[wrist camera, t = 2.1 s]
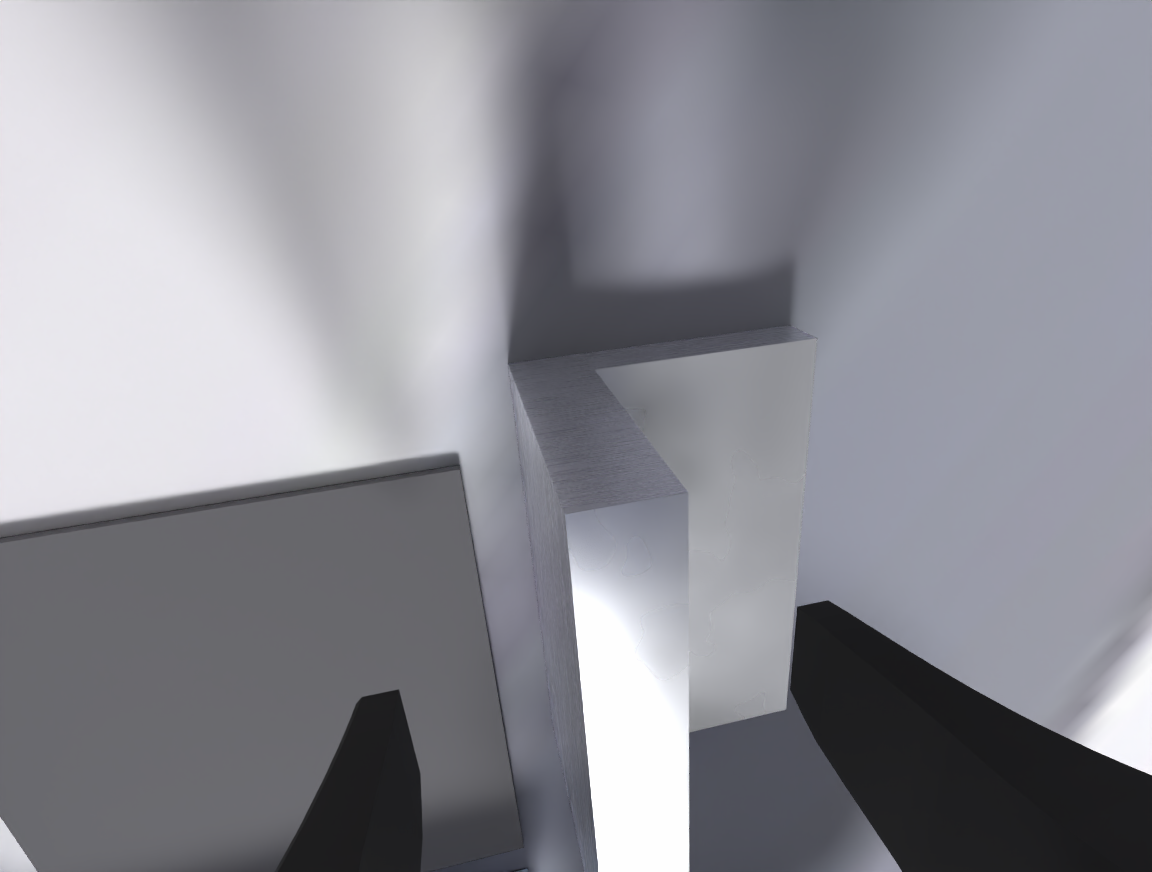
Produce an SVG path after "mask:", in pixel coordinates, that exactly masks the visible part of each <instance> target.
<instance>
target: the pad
mask: <svg viewBox="0 0 1152 872" xmlns="http://www.w3.org/2000/svg"><path fill="white" fill-rule="evenodd" d="M398 689H399V691H400V695H401V699H402V703H403V707H404V711H405V715H406V719H407V723H408V726H409V730H410V734H411V738H412V742H413V746H414V750H415V754H416V758H417V762H418V766H419V770H420V773H421V799H422V832H423V841H422V857H421V872H430V871H434V870H438V869H442V868H446V867H450V866H454V865H458V864H462V863H466V862H470V861H473V860H477V859H481V858H485V857H489V856H493V855H497V854H501V853H505V852H509V851H513V850H517V849H520V848H524V846H523V839H522V833H521V827H520V821H519V815H518V809H517V803H516V797H515V791H514V786H513V780H512V774H511V768H510V762H509V756H508V750H507V744H506V738H505V732H504V726H503V720H502V715H501V709H500V703H499V697H498V691H497V685H496V679H495V673H494V667H493V661H492V655H491V649H490V644H489V638H488V632H487V626H486V620H485V614H484V608H483V602H482V596H481V590H480V584H479V578H478V573H477V567H476V561H475V555H474V549H473V543H472V537H471V531H470V525H469V519H468V513H467V507H466V502H465V496H464V490H463V484H462V478H461V472H460V466H459V465H458V466H452V467H445V468H439V469H433V470H427V471H420V472H414V473H408V474H401V475H395V476H389V477H383V478H376V479H370V480H364V481H357V482H351V483H345V484H339V485H332V486H326V487H320V488H313V489H307V490H301V491H295V492H288V493H282V494H276V495H269V496H263V497H257V498H251V499H244V500H238V501H232V502H225V503H219V504H213V505H207V506H200V507H194V508H188V509H181V510H175V511H169V512H163V513H156V514H150V515H144V516H137V517H131V518H125V519H119V520H112V521H106V522H100V523H93V524H87V525H81V526H74V527H68V528H62V529H56V530H49V531H43V532H37V533H30V534H24V535H18V536H12V537H5V538H0V817H1V818H2V820H3V821H4V823H5V824H6V826H7V827H8V829H9V830H10V832H11V833H12V835H13V836H14V837H15V839H16V840H17V842H18V843H19V845H20V846H21V848H22V849H23V851H24V852H25V854H26V855H27V857H28V858H29V860H30V861H31V863H32V864H33V866H34V867H35V868H36V870H37V871H38V872H275V870H276V869H277V867H278V865H279V863H280V861H281V860H282V858H283V856H284V854H285V852H286V851H287V849H288V847H289V845H290V843H291V842H292V840H293V838H294V836H295V834H296V833H297V831H298V829H299V827H300V825H301V823H302V821H303V819H304V817H305V815H306V813H307V811H308V809H309V807H310V805H311V803H312V801H313V799H314V797H315V795H316V793H317V791H318V789H319V787H320V785H321V783H322V781H323V779H324V777H325V775H326V773H327V771H328V768H329V766H330V764H331V762H332V760H333V758H334V755H335V753H336V751H337V749H338V746H339V744H340V742H341V740H342V737H343V735H344V733H345V730H346V728H347V725H348V723H349V721H350V718H351V716H352V713H353V710H354V708H355V705H356V703H357V702H358V701H359V700H360V698H361V697H364V696H369V695H374V694H379V693H383V692H388V691H393V690H398Z"/></svg>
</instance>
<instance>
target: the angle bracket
mask: <svg viewBox="0 0 1152 872" xmlns="http://www.w3.org/2000/svg"><path fill="white" fill-rule="evenodd" d="M816 347H817V338H815V337H813V336H811V335H809V334H807V333H805V332H803V331H801V330H799V329H797V328H795V327H793V326H791V325H788V326H780V327H773V328H766V329H758V330H751V331H744V332H736V333H729V334H721V335H714V336H707V337H699V338H692V339H685V340H677V341H670V342H663V343H655V344H648V345H641V346H633V347H626V348H619V349H611V350H604V351H597V352H589V353H582V354H575V355H567V356H560V357H552V358H545V359H538V360H530V361H523V362H516V363H508V370H509V378H510V386H511V394H512V402H513V410H514V418H515V426H516V434H517V442H518V450H519V458H520V466H521V474H522V482H523V490H524V498H525V506H526V514H527V522H528V530H529V538H530V546H531V554H532V562H533V570H534V578H535V587H536V595H537V603H538V611H539V619H540V627H541V635H542V643H543V651H544V659H545V667H546V675H547V683H548V691H549V699H550V707H551V715H552V723H553V730H554V734H555V739H556V744H557V748H558V753H559V757H560V762H561V766H562V771H563V776H564V780H565V785H566V789H567V794H568V798H569V803H570V808H571V812H572V817H573V821H574V826H575V830H576V835H577V839H578V844H579V849H580V853H581V858H582V862H583V867H584V871H585V872H689V733H690V732H694V731H698V730H702V729H706V728H711V727H715V726H719V725H723V724H727V723H732V722H736V721H740V720H744V719H748V718H753V717H757V716H761V715H765V714H769V713H774V712H778V711H782V710H786V704H787V692H788V680H789V668H790V656H791V644H792V632H793V620H794V609H795V597H796V585H797V573H798V561H799V549H800V537H801V525H802V513H803V502H804V490H805V478H806V466H807V454H808V442H809V430H810V418H811V406H812V394H813V383H814V371H815V359H816Z"/></svg>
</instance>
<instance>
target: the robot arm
mask: <svg viewBox="0 0 1152 872" xmlns="http://www.w3.org/2000/svg"><path fill="white" fill-rule="evenodd" d="M790 690H791V692H792V694H793V696H794V698H795V700H796V702H797V704H798V706H799V709H800V711H801V713H802V715H803V717H804V719H805V721H806V723H807V724H808V726H809V728H810V730H811V732H812V734H813V736H814V738H815V740H816V742H817V743H818V745H819V746H820V748H821V749H822V751H823V753H824V754H825V756H826V757H827V759H828V760H829V762H830V763H831V765H832V766H833V768H834V769H835V771H836V772H837V774H838V775H839V777H840V779H841V780H842V782H843V783H844V785H845V786H846V788H847V789H848V791H849V792H850V794H851V795H852V797H853V798H854V800H855V801H856V803H857V804H858V806H859V807H860V809H861V810H862V811H863V813H864V814H865V816H866V817H867V819H868V820H869V822H870V823H871V825H872V826H873V828H874V829H875V831H876V832H877V834H878V835H879V837H880V838H881V840H882V841H883V843H884V844H885V846H886V847H887V849H888V850H889V852H890V853H891V855H892V856H893V858H894V859H895V861H896V862H897V864H898V866H899V867H900V869H901V870H902V872H1152V775H1149V774H1147V773H1145V772H1142V771H1140V770H1137V769H1135V768H1132V767H1130V766H1128V765H1125V764H1123V763H1120V762H1118V761H1116V760H1114V759H1111V758H1109V757H1107V756H1105V755H1102V754H1100V753H1098V752H1096V751H1093V750H1091V749H1089V748H1087V747H1085V746H1083V745H1081V744H1079V743H1076V742H1074V741H1072V740H1070V739H1068V738H1066V737H1064V736H1062V735H1060V734H1058V733H1056V732H1053V731H1051V730H1049V729H1047V728H1045V727H1043V726H1041V725H1039V724H1037V723H1035V722H1033V721H1031V720H1029V719H1027V718H1025V717H1023V716H1021V715H1019V714H1018V713H1016V712H1014V711H1012V710H1010V709H1008V708H1006V707H1005V706H1003V705H1001V704H999V703H997V702H995V701H994V700H992V699H990V698H988V697H986V696H985V695H983V694H981V693H979V692H977V691H975V690H974V689H972V688H970V687H968V686H967V685H965V684H963V683H961V682H960V681H958V680H956V679H955V678H953V677H951V676H949V675H948V674H946V673H944V672H943V671H941V670H939V669H938V668H936V667H934V666H933V665H931V664H929V663H928V662H926V661H924V660H923V659H921V658H920V657H918V656H916V655H915V654H913V653H911V652H910V651H908V650H907V649H905V648H903V647H902V646H900V645H899V644H897V643H895V642H894V641H892V640H891V639H889V638H888V637H886V636H884V635H883V634H881V633H880V632H878V631H876V630H875V629H873V628H872V627H870V626H869V625H867V624H865V623H864V622H862V621H861V620H859V619H857V618H856V617H854V616H853V615H851V614H850V613H848V612H846V611H845V610H843V609H841V608H840V607H838V606H836V605H835V604H833V603H831V602H830V601H823V602H818V603H813V604H808V605H804V606H799V607H797V618H796V629H795V640H794V652H793V663H792V675H791V686H790ZM422 841H423V832H422V799H421V773H420V770H419V766H418V762H417V758H416V754H415V750H414V746H413V742H412V738H411V734H410V730H409V726H408V723H407V719H406V715H405V711H404V707H403V703H402V699H401V695H400V691H399V689H398V690H393V691H388V692H383V693H379V694H374V695H369V696H364V697H361V698H360V700H359V701H358V702H357V703H356V705H355V708H354V710H353V713H352V716H351V718H350V721H349V723H348V725H347V728H346V730H345V733H344V735H343V737H342V740H341V742H340V744H339V746H338V749H337V751H336V753H335V755H334V758H333V760H332V762H331V764H330V766H329V768H328V771H327V773H326V775H325V777H324V779H323V781H322V783H321V785H320V787H319V789H318V791H317V793H316V795H315V797H314V799H313V801H312V803H311V805H310V807H309V809H308V811H307V813H306V815H305V817H304V819H303V821H302V823H301V825H300V827H299V829H298V831H297V833H296V834H295V836H294V838H293V840H292V842H291V843H290V845H289V847H288V849H287V851H286V852H285V854H284V856H283V858H282V860H281V861H280V863H279V865H278V867H277V869H276V870H275V872H421V857H422Z"/></svg>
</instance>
